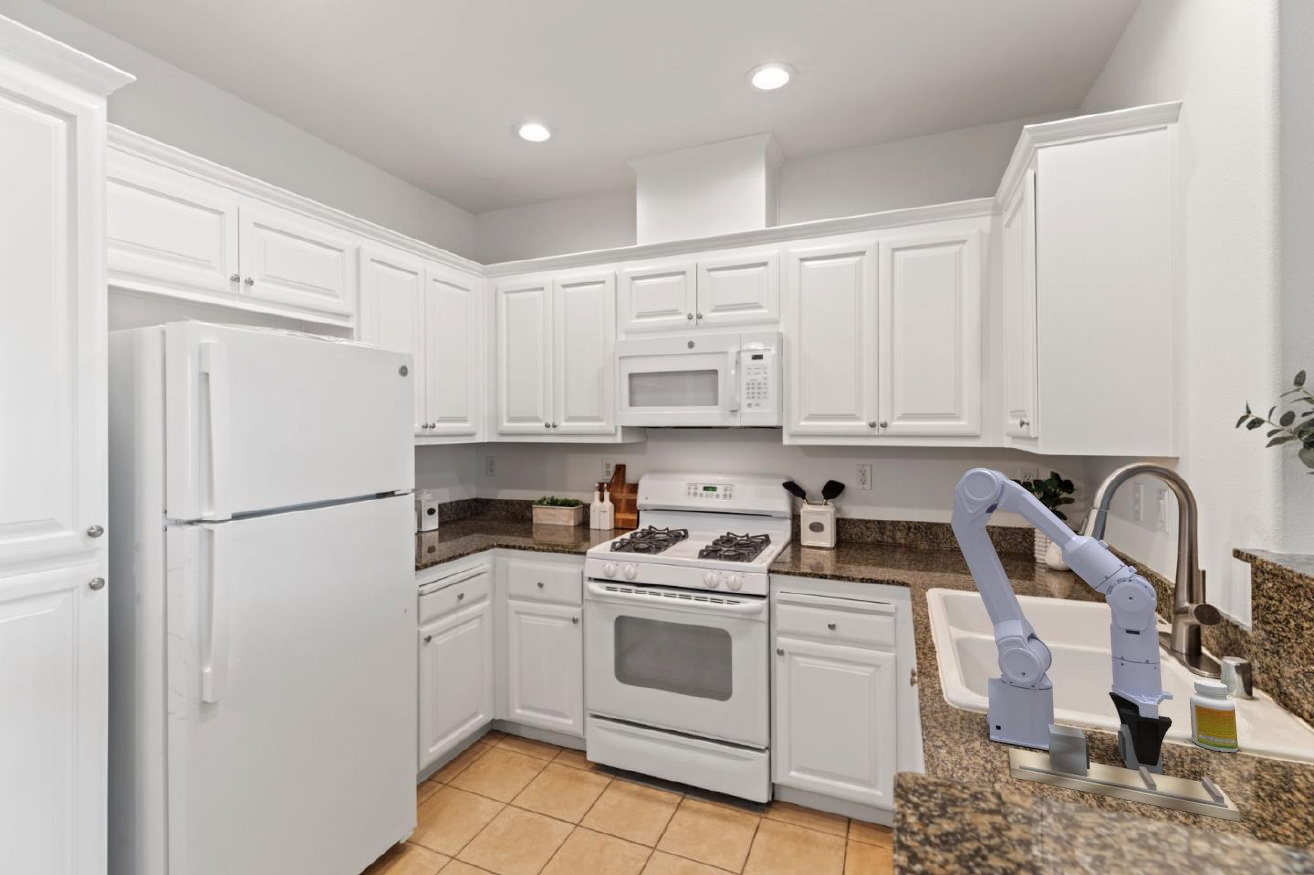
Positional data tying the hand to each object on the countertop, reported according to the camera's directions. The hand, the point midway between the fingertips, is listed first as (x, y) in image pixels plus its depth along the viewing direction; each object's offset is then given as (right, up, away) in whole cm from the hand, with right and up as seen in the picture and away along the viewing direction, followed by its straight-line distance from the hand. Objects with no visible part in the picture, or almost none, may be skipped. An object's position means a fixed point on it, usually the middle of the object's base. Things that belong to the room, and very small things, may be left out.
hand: (1141, 754), depth 90 cm
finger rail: (-9, -1, -7) cm, 11 cm away
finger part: (0, -2, 0) cm, 2 cm away
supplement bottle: (+18, -3, +7) cm, 19 cm away
